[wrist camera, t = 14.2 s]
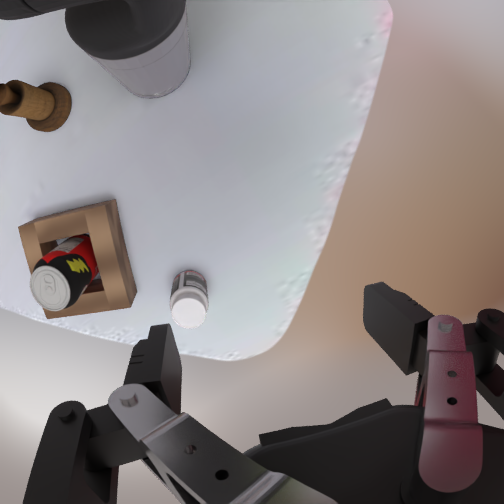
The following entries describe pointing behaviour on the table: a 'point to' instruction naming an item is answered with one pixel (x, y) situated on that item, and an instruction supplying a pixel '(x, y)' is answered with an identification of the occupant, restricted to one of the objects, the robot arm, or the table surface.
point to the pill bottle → (189, 299)
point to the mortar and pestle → (36, 103)
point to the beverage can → (64, 273)
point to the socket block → (105, 249)
